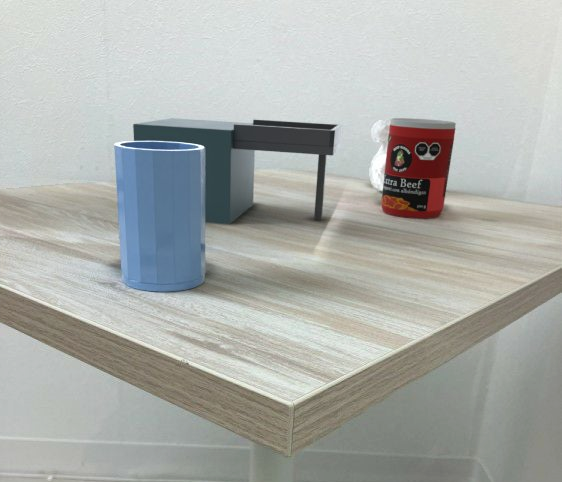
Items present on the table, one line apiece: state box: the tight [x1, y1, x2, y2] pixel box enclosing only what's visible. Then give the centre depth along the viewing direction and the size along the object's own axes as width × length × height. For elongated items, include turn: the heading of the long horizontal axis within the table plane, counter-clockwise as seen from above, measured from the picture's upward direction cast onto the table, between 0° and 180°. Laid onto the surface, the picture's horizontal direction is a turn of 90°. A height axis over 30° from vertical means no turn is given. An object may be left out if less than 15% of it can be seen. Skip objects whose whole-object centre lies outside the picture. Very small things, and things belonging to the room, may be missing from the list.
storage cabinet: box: [132, 117, 344, 225], centre depth 70 cm, size 20×12×10 cm, turn 81°
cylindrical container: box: [113, 140, 206, 293], centre depth 49 cm, size 6×6×10 cm
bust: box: [368, 118, 392, 192], centre depth 95 cm, size 12×8×11 cm
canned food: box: [380, 117, 456, 219], centre depth 80 cm, size 8×8×11 cm
